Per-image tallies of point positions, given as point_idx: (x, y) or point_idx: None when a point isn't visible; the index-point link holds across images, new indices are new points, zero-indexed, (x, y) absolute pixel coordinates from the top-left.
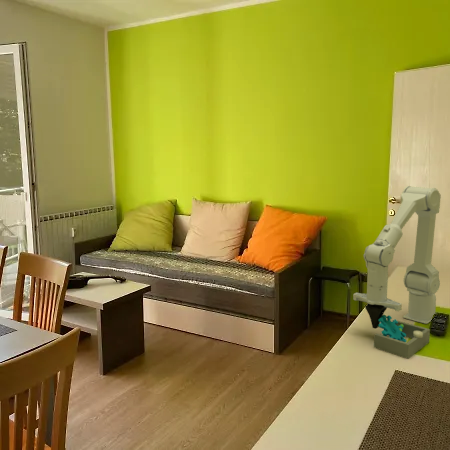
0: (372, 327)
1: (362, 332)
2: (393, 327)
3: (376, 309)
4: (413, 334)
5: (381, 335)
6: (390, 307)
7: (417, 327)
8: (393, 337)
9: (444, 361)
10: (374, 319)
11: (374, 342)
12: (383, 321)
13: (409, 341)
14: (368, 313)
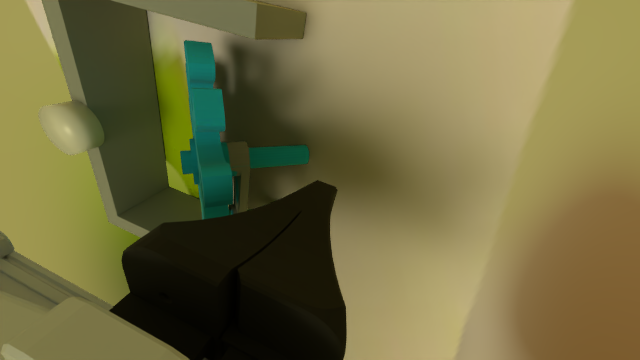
0: (336, 189)
1: (418, 204)
2: (184, 165)
3: (158, 246)
4: (85, 119)
5: (207, 16)
6: (42, 285)
7: (146, 228)
8: (189, 92)
9: (50, 44)
10: (288, 208)
11: (288, 9)
12: (200, 169)
13: (60, 20)
14: (328, 255)
